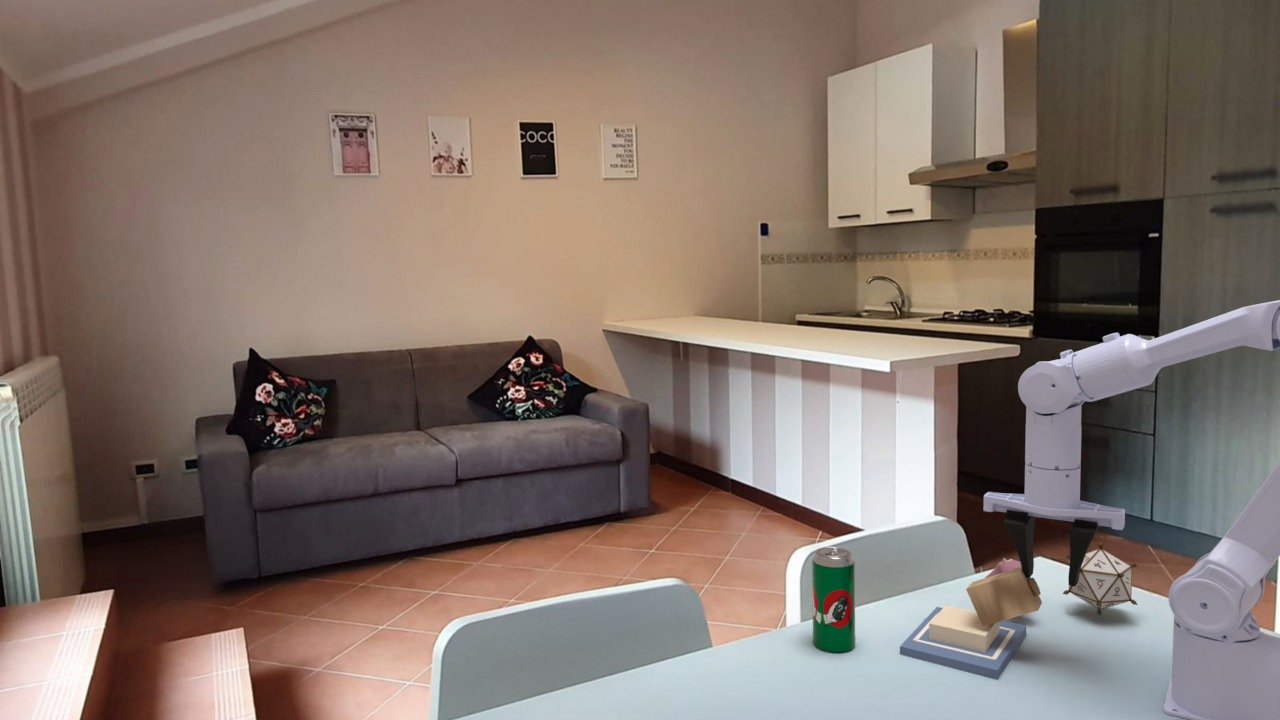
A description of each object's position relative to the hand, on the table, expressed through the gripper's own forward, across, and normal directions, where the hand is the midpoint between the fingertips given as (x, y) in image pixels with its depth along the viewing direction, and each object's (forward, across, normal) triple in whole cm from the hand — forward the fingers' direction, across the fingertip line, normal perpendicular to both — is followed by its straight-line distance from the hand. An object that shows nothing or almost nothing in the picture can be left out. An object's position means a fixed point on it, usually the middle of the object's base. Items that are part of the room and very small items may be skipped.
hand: (1050, 579), depth 96 cm
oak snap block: (+4, +8, +2) cm, 9 cm away
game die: (+10, -3, -16) cm, 19 cm away
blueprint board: (+10, +9, +2) cm, 13 cm away
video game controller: (+10, +8, -11) cm, 17 cm away
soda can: (+10, +22, +11) cm, 26 cm away
